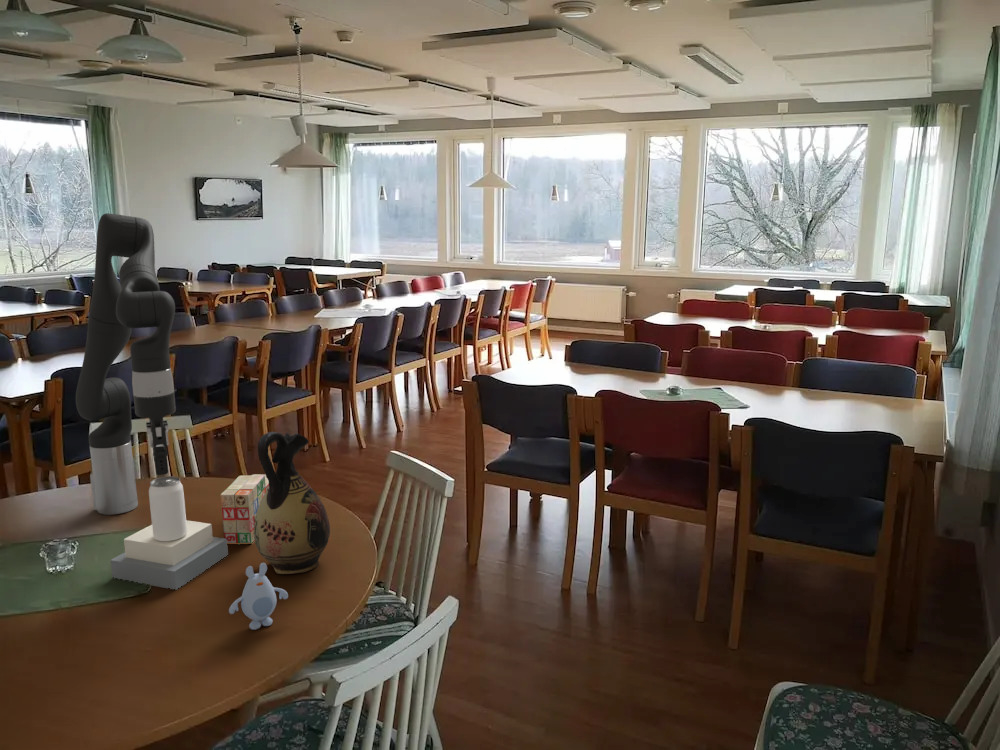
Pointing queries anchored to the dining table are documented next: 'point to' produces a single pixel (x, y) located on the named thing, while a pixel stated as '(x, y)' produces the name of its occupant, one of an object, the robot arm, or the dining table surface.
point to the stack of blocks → (242, 507)
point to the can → (167, 509)
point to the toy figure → (258, 598)
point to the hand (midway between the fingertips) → (161, 467)
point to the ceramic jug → (289, 510)
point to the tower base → (169, 571)
